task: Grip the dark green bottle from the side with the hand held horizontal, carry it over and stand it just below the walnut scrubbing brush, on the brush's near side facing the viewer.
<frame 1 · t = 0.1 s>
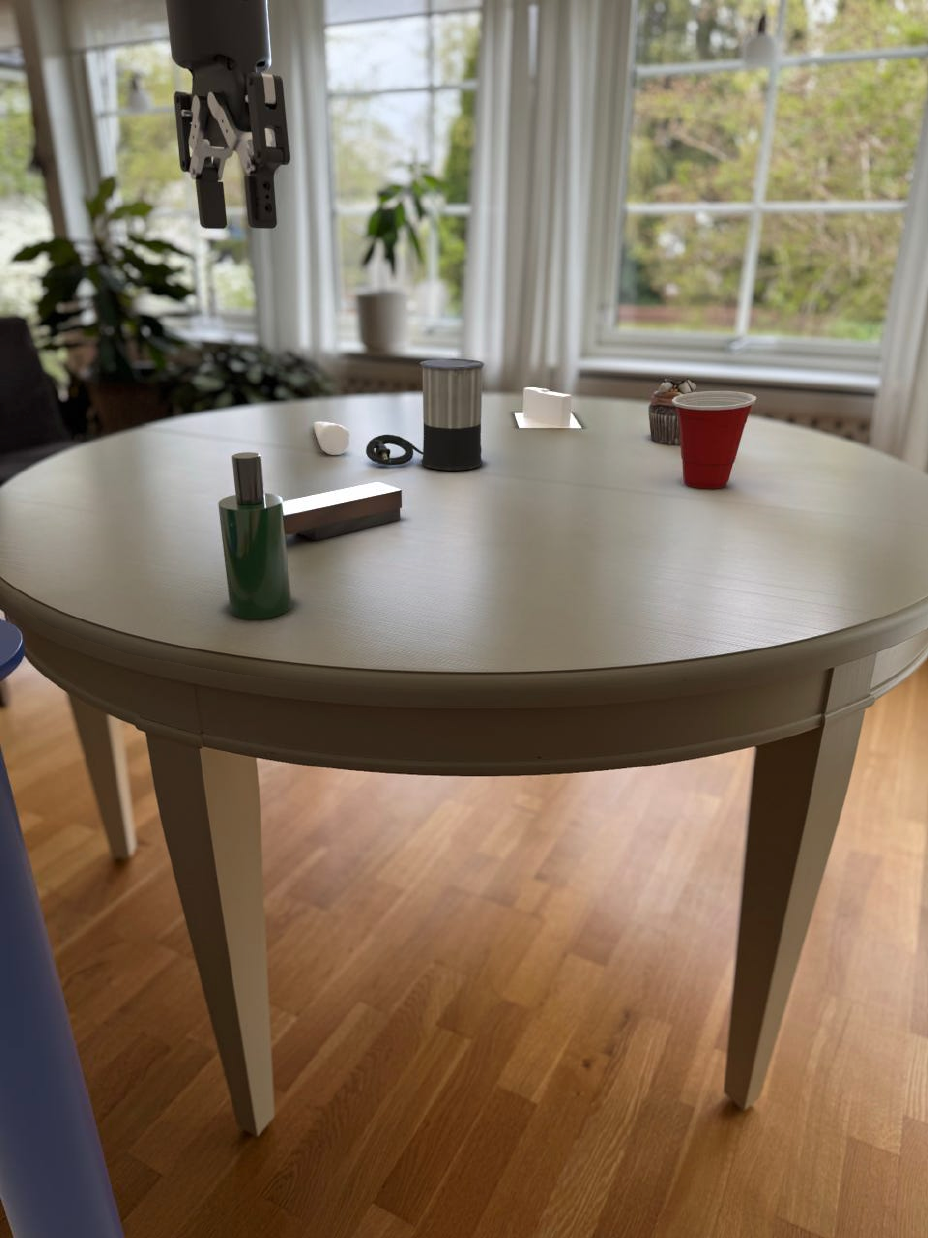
hand: (237, 228, 72), 31 cm above the table, tool pointing down, fingers open, 8 cm apart
plastic cup: (703, 485, 118), on the table
cupcake: (674, 440, 145), on the table
napkin holder: (546, 421, 160), on the table
unicorn horn: (324, 442, 142), on the table
green bottle: (261, 607, 78), on the table
brush: (335, 529, 99), on the table
milk frother: (425, 465, 128), on the table
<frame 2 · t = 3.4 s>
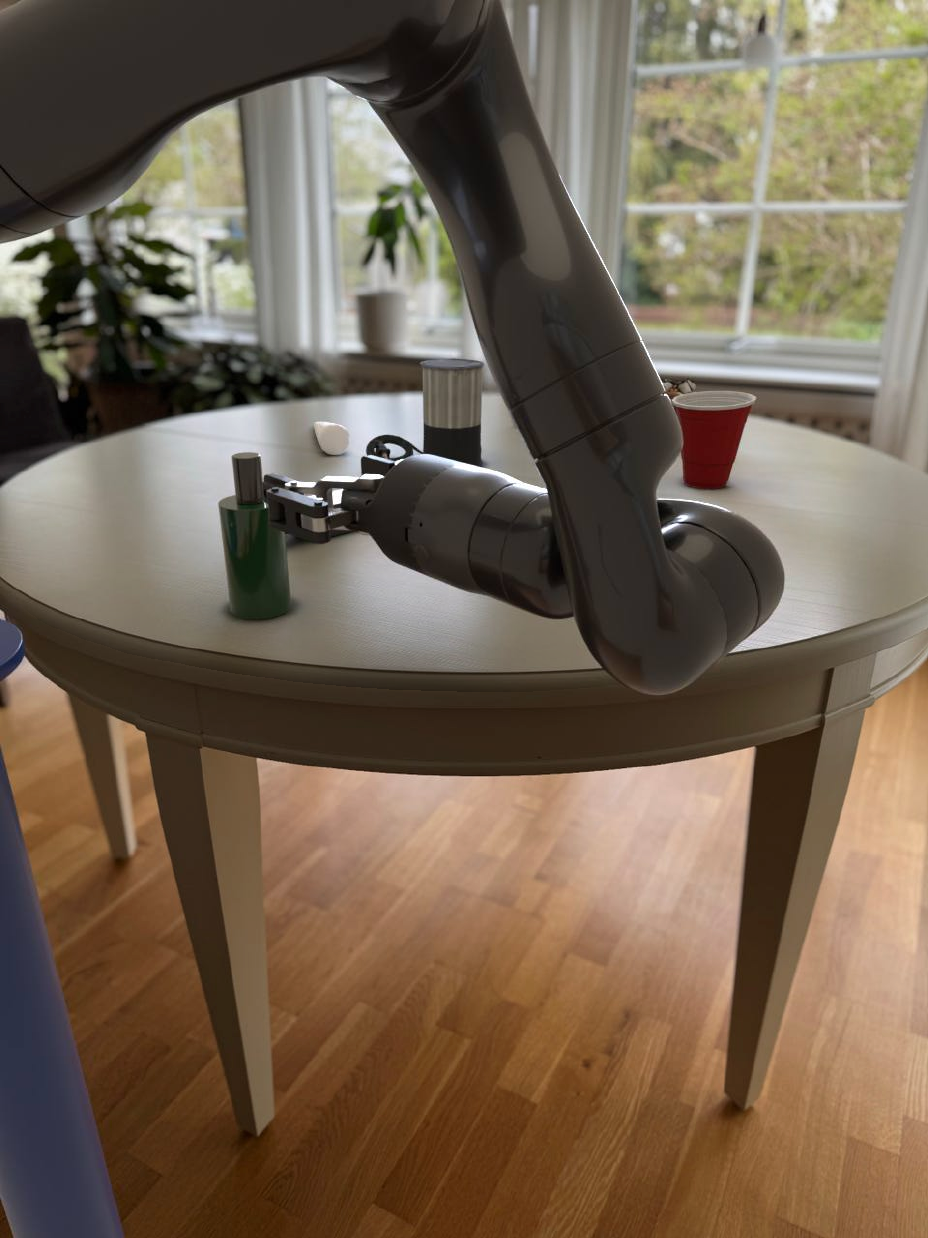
hand: (318, 477, 65), 14 cm above the table, tool horizontal, fingers open, 8 cm apart
nothing on the table moved.
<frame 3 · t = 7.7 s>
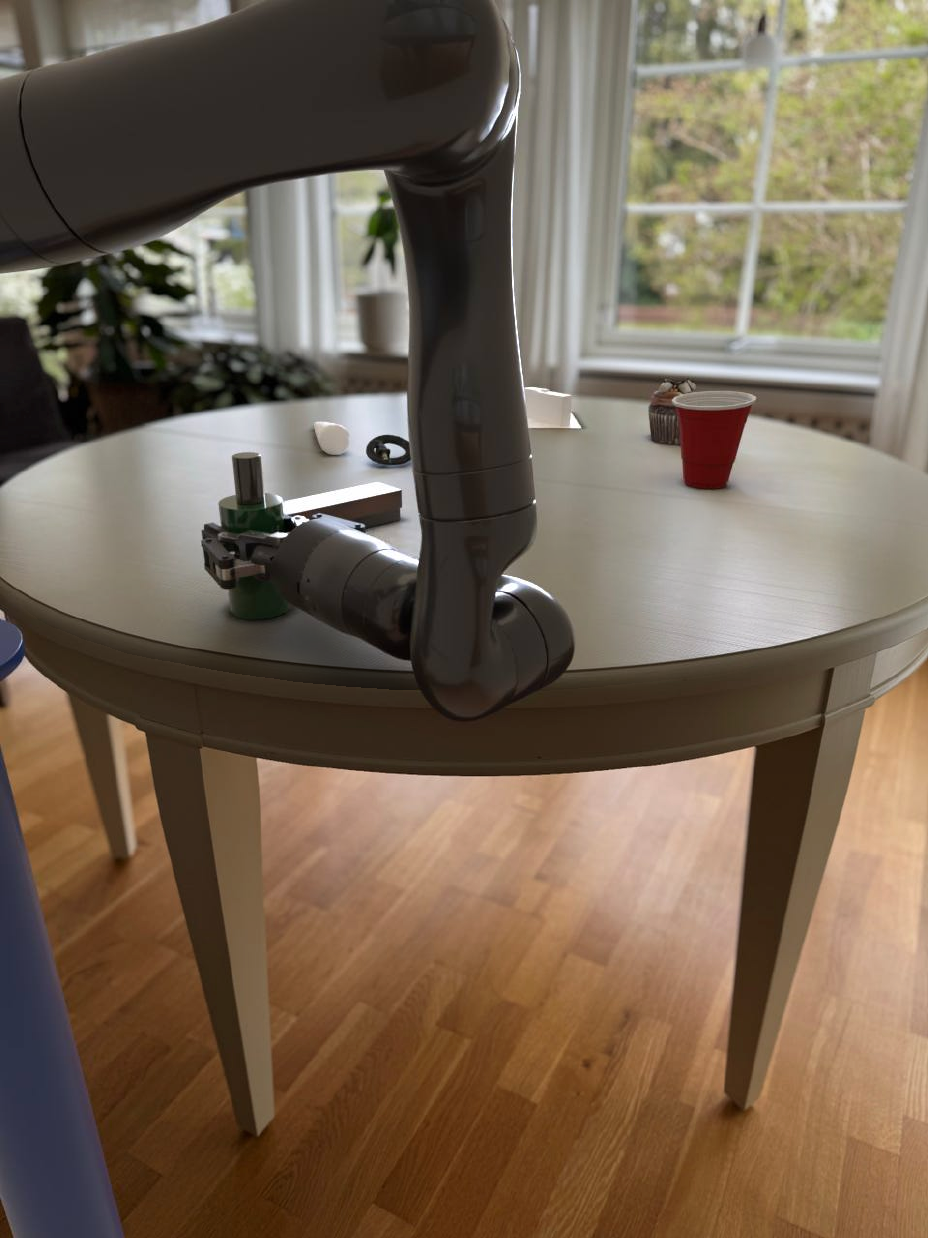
hand: (239, 527, 77), 7 cm above the table, tool horizontal, fingers closed on green bottle, 5 cm apart
green bottle: (261, 607, 78), on the table, touching gripper
everything else where it was.
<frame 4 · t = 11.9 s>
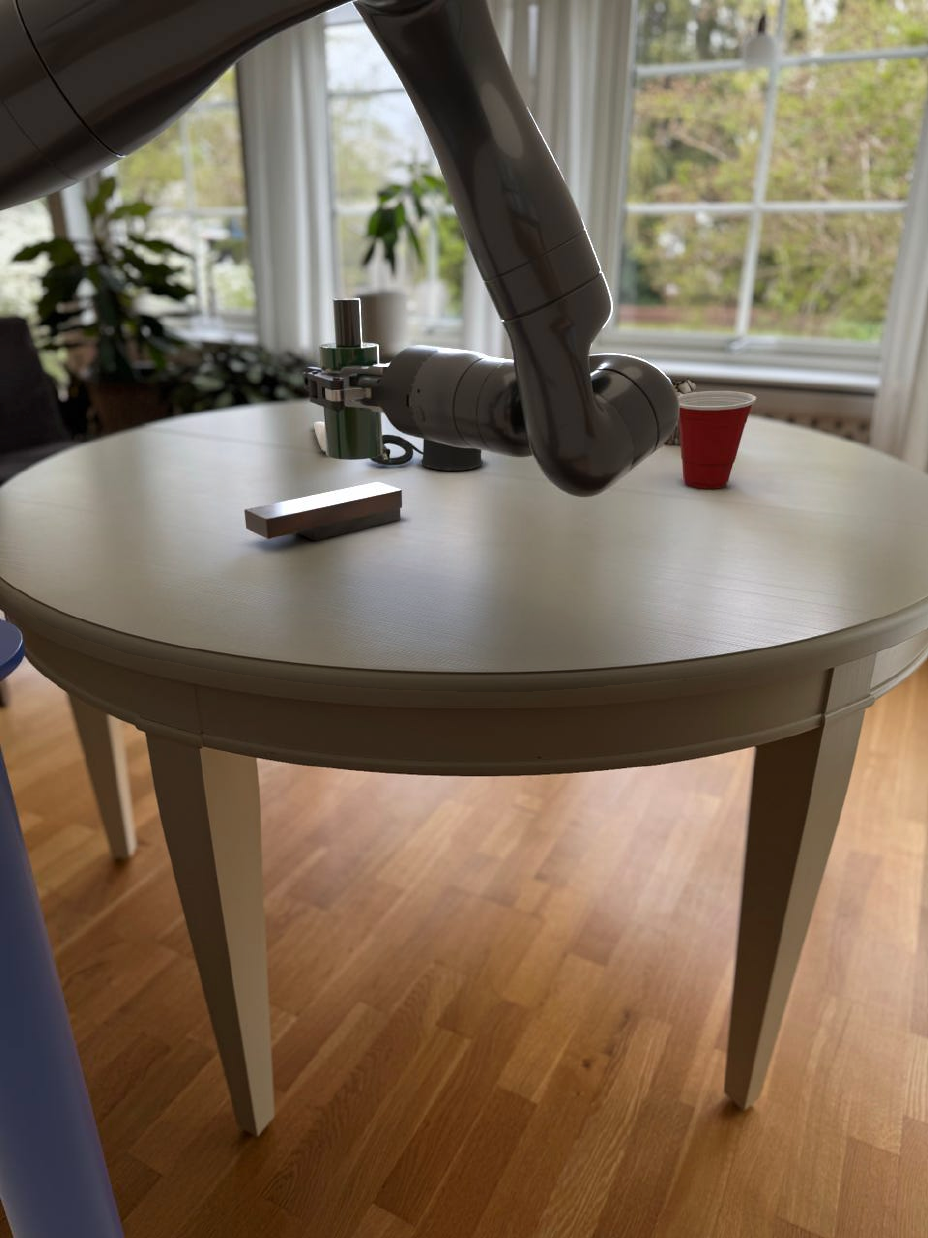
hand: (335, 375, 81), 19 cm above the table, tool horizontal, fingers closed on green bottle, 5 cm apart
green bottle: (354, 453, 82), point 12 cm above the table, touching gripper
everything else where it was.
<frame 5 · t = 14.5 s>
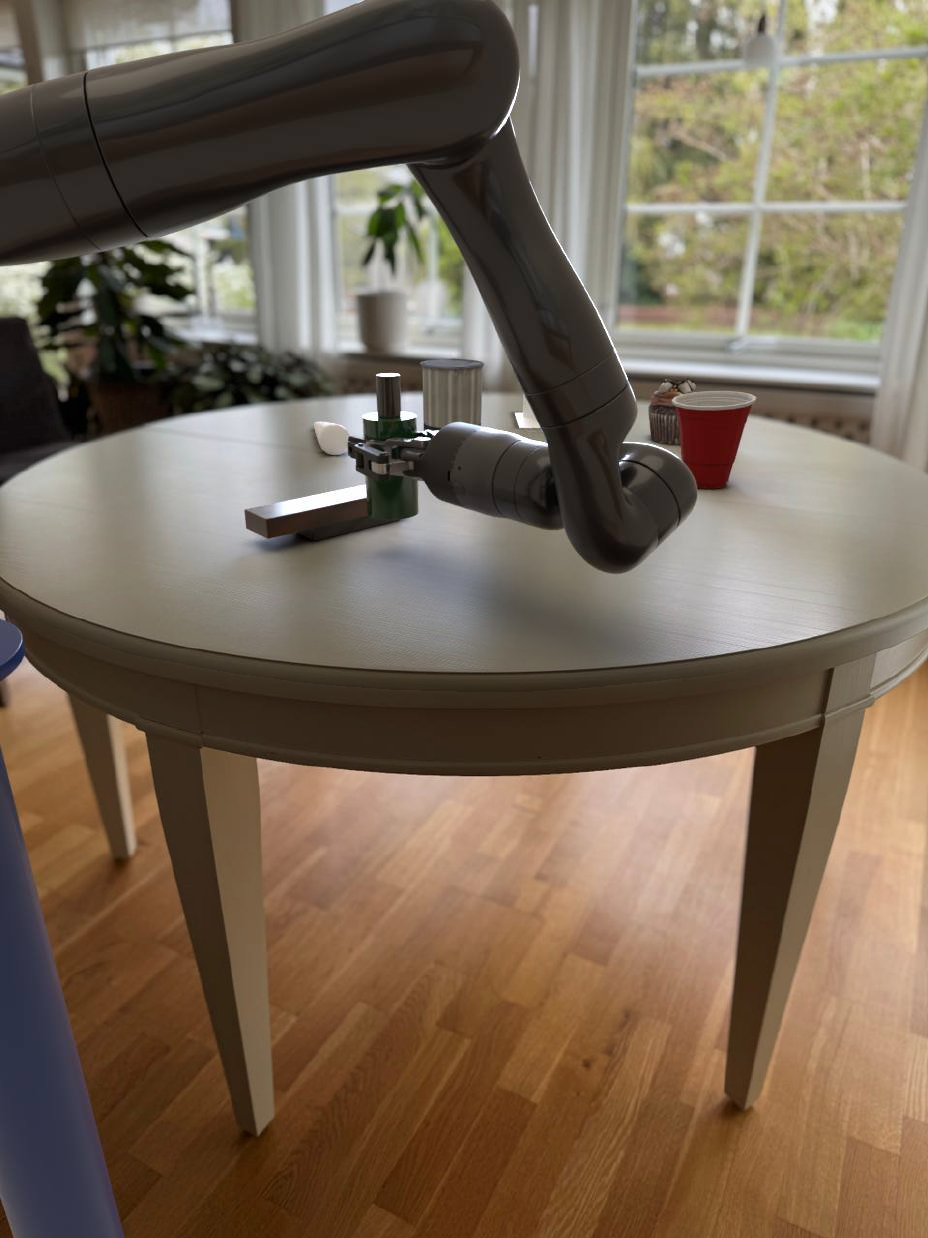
hand: (375, 441, 88), 12 cm above the table, tool horizontal, fingers closed on green bottle, 5 cm apart
green bottle: (393, 512, 90), point 5 cm above the table, touching gripper
everything else where it was.
when the fingers open (7 cm above the table, at t = 16.3 s): green bottle stays where it is, on the table.
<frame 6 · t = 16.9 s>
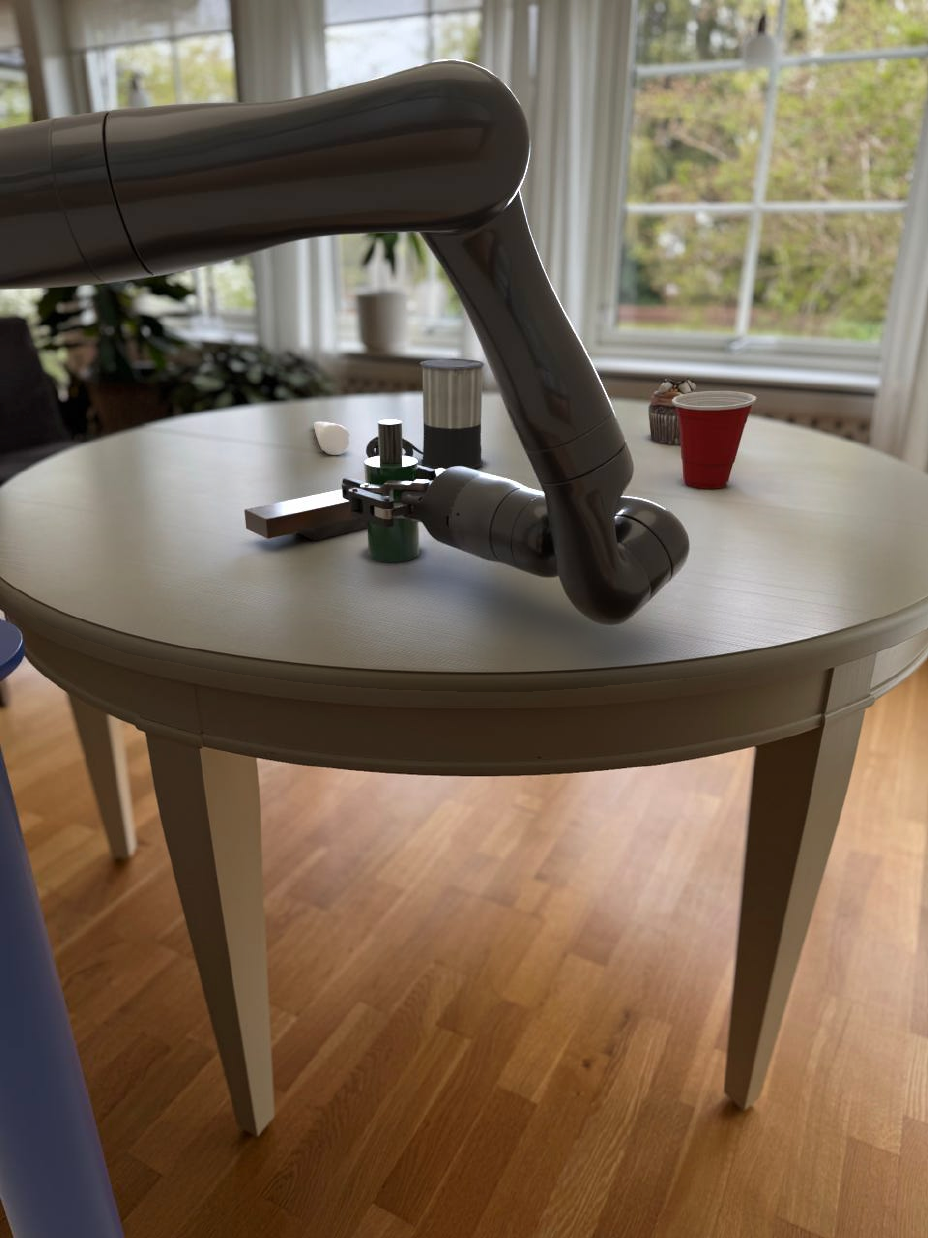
hand: (379, 480, 90), 8 cm above the table, tool horizontal, fingers open, 8 cm apart
green bottle: (393, 553, 91), on the table
everything else where it was.
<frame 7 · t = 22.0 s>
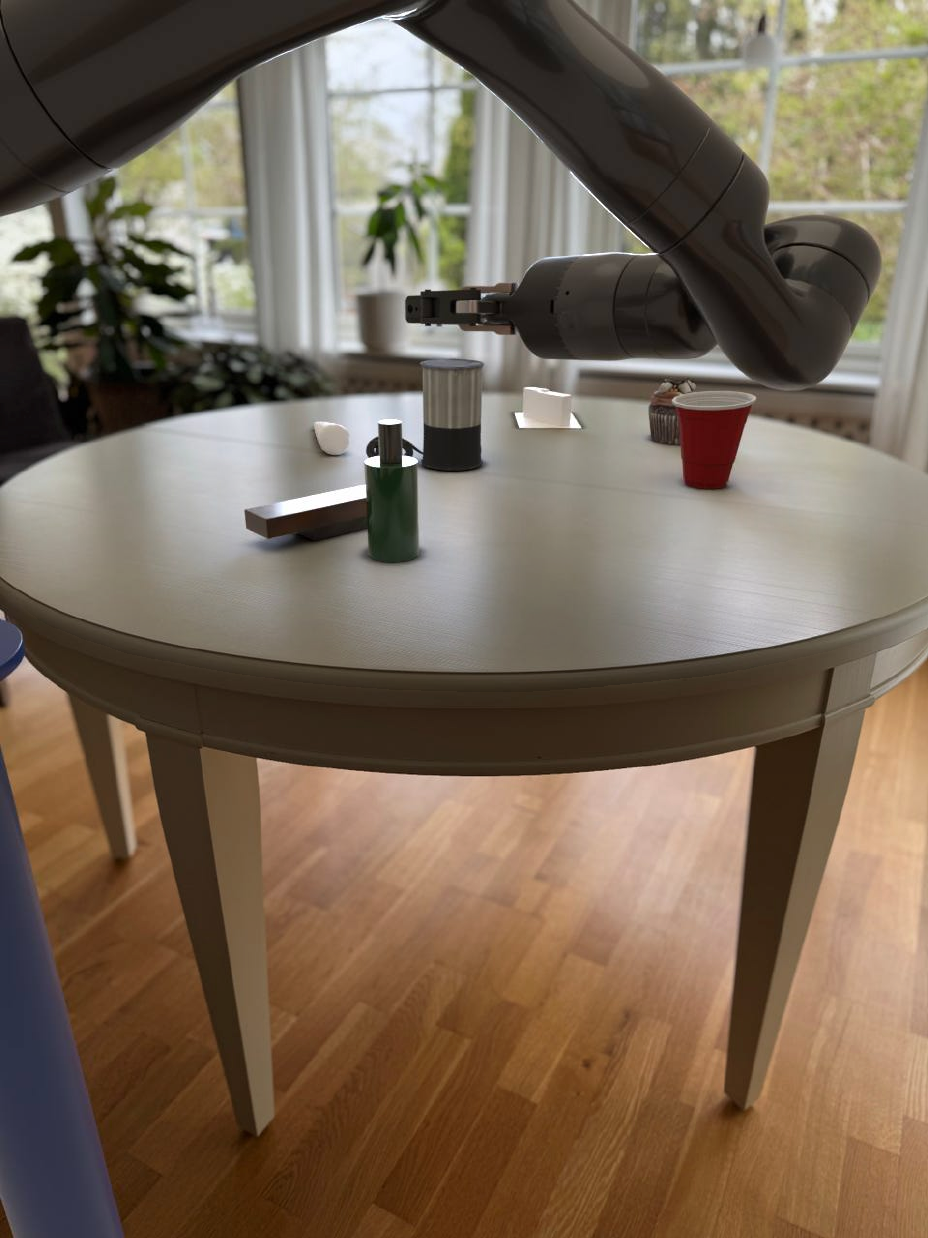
hand: (444, 311, 75), 25 cm above the table, tool horizontal, fingers open, 8 cm apart
nothing on the table moved.
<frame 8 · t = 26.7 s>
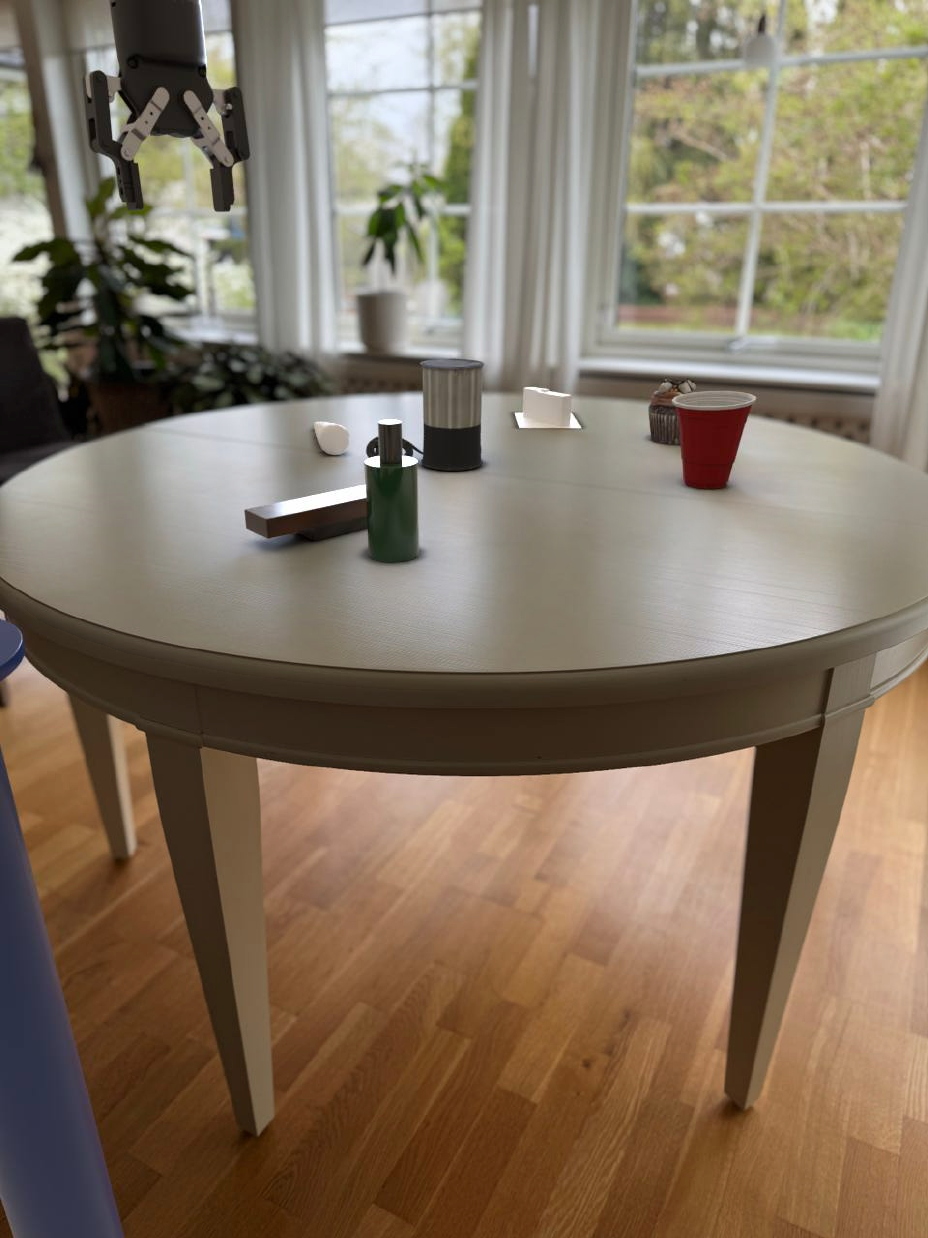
hand: (180, 210, 80), 33 cm above the table, tool pointing down, fingers open, 8 cm apart
nothing on the table moved.
at the end: green bottle inside the target area on the table beside the brush (1.1 cm from its centre), on the table; green bottle tilted 0°; the gripper is holding nothing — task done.
